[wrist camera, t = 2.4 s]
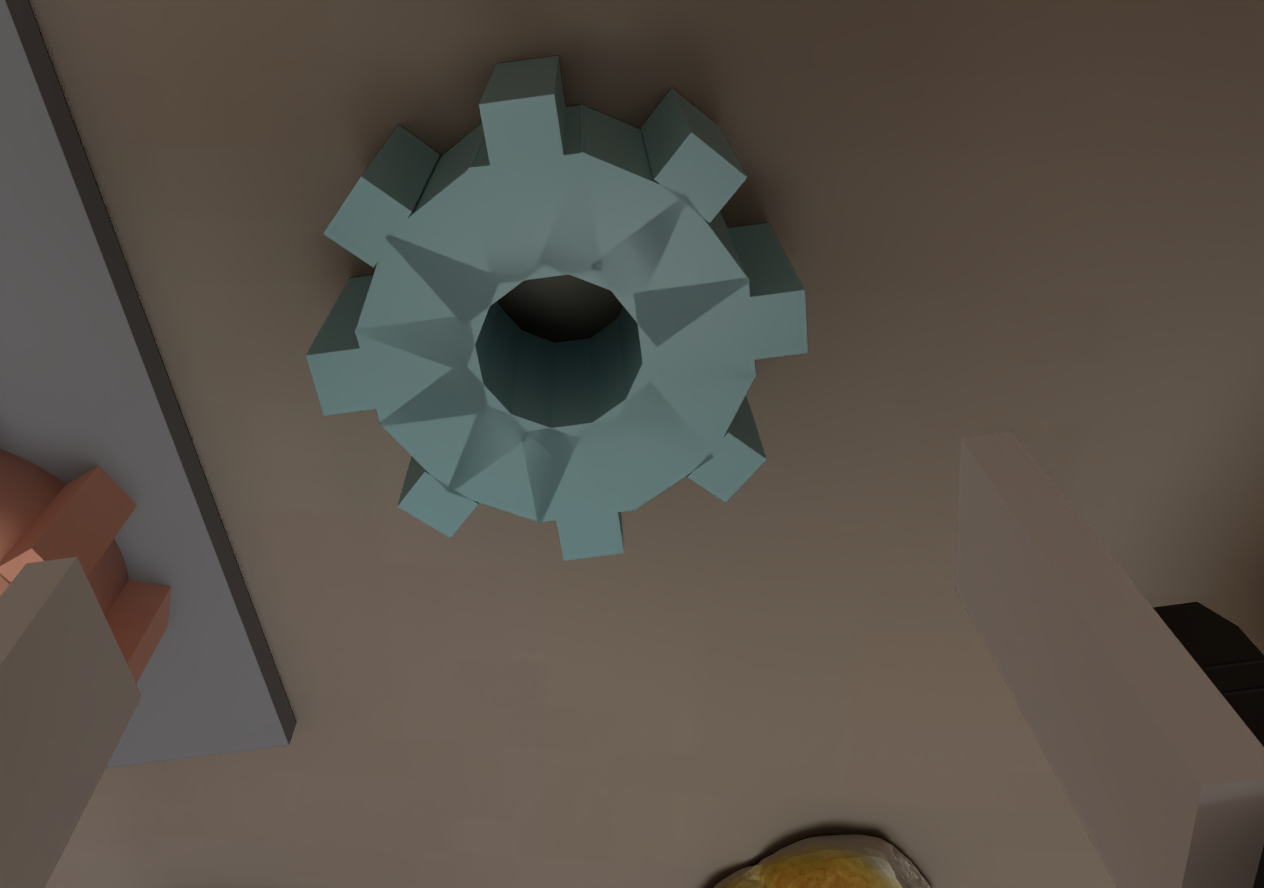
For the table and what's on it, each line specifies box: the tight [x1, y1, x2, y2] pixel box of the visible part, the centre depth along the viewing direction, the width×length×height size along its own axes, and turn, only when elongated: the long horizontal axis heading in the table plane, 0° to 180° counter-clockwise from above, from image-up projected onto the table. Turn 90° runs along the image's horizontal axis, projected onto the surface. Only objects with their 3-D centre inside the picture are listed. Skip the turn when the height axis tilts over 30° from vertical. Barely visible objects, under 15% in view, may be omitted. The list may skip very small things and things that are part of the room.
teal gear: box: [306, 56, 808, 561], centre depth 25 cm, size 11×11×5 cm
